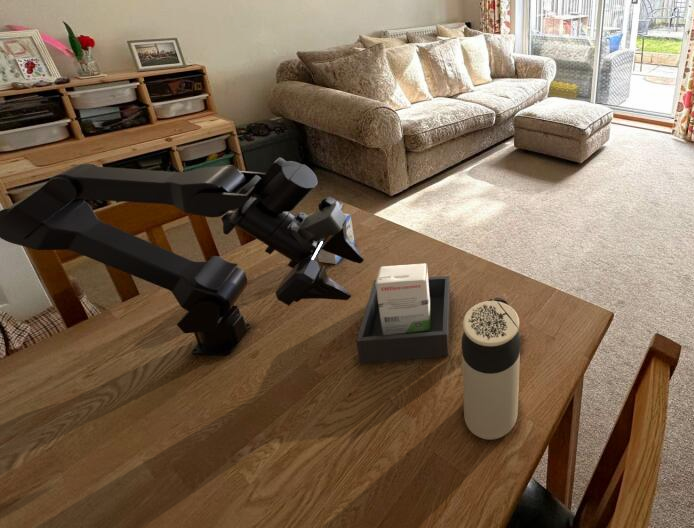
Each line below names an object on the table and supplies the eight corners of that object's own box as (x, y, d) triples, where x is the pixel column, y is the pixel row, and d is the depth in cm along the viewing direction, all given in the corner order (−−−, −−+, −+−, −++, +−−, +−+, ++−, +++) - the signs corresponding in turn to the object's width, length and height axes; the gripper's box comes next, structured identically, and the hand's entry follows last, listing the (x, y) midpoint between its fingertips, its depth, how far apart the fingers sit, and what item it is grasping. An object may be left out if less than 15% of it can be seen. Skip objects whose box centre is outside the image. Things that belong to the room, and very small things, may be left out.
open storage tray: (359, 363, 67) (356, 341, 65) (376, 300, 81) (374, 280, 79) (448, 356, 69) (447, 334, 67) (450, 295, 82) (449, 275, 81)
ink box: (431, 311, 78) (428, 261, 73) (430, 331, 73) (426, 280, 69) (385, 315, 76) (379, 265, 72) (381, 336, 72) (374, 284, 67)
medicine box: (335, 265, 90) (330, 232, 87) (318, 262, 91) (312, 229, 88) (355, 244, 97) (350, 213, 94) (338, 242, 98) (333, 211, 95)
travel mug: (474, 450, 55) (472, 354, 49) (457, 399, 62) (453, 308, 55) (526, 427, 58) (531, 333, 52) (505, 381, 65) (507, 292, 58)
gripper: (283, 228, 54) (376, 288, 60) (326, 168, 71) (395, 219, 77) (234, 278, 56) (328, 332, 62) (287, 209, 73) (357, 255, 79)
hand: (356, 278), depth 70 cm, fingers open, 9 cm apart
